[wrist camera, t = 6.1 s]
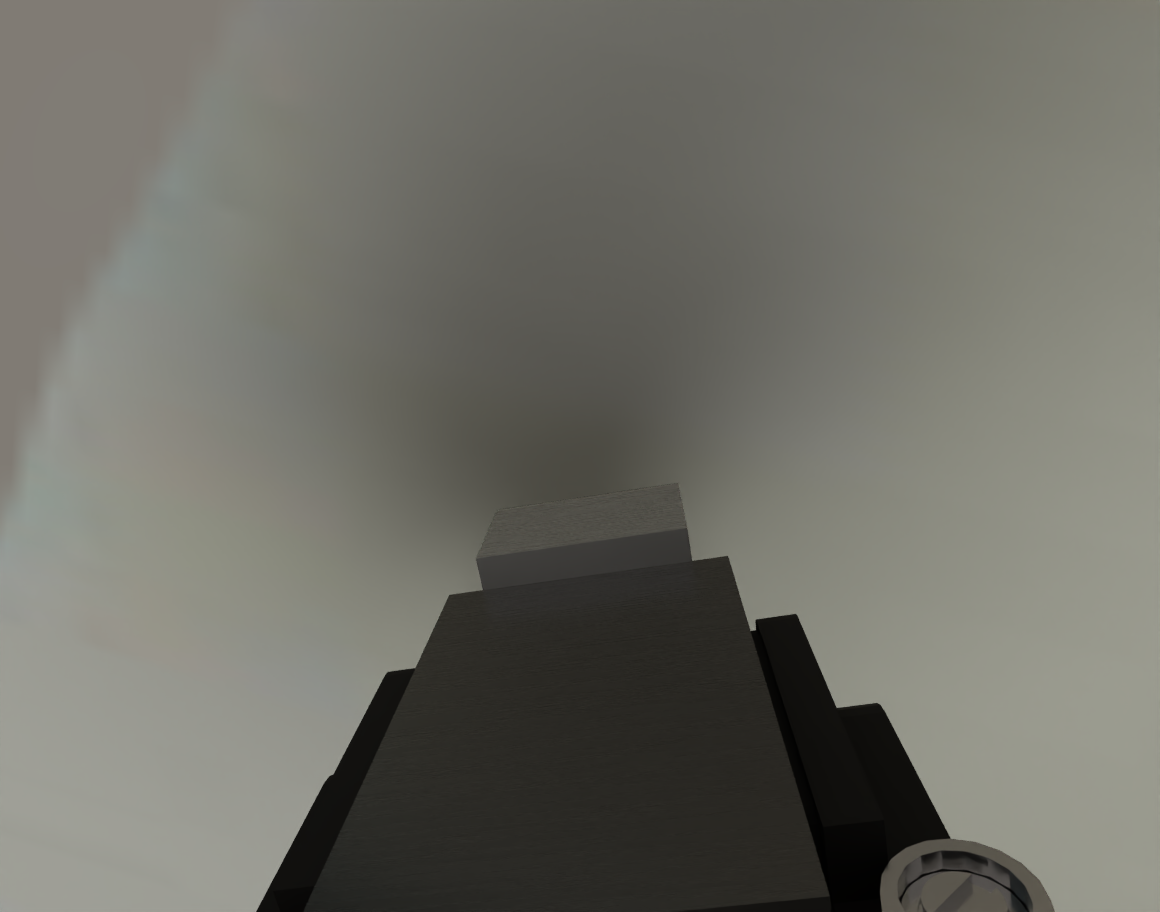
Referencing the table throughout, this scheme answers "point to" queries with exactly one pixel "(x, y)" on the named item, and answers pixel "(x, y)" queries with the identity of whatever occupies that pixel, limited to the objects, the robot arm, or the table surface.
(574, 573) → the grey sliding bolt
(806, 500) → the table surface
